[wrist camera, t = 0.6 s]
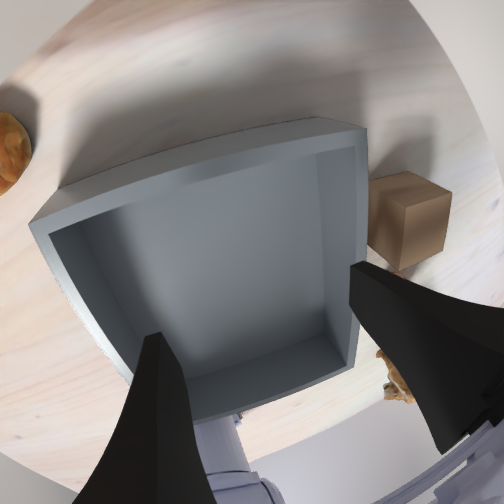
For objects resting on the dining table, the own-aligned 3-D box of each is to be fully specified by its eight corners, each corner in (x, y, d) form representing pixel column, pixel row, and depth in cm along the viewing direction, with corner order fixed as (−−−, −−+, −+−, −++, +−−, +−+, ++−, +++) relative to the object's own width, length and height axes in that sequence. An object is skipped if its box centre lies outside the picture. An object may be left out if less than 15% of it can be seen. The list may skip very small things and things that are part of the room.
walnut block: (404, 223, 24) (442, 250, 20) (360, 238, 24) (398, 271, 20) (407, 170, 22) (452, 192, 18) (361, 181, 21) (406, 207, 17)
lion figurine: (351, 358, 33) (390, 416, 25) (381, 326, 31) (428, 381, 24) (402, 368, 40) (433, 409, 32) (425, 343, 38) (459, 383, 31)
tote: (328, 330, 28) (353, 367, 24) (163, 386, 25) (170, 431, 21) (318, 116, 17) (366, 128, 13) (57, 189, 15) (28, 224, 11)
